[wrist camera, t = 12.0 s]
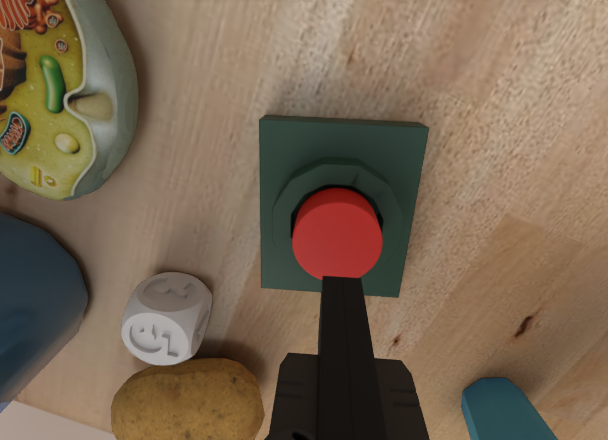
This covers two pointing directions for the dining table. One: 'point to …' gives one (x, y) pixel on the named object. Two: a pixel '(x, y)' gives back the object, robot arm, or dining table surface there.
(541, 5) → the dining table surface
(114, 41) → the cell model
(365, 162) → the button box
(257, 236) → the dining table surface
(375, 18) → the dining table surface
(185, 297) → the die
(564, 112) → the dining table surface
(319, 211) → the button
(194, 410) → the potato
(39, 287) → the wine bottle
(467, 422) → the cup
